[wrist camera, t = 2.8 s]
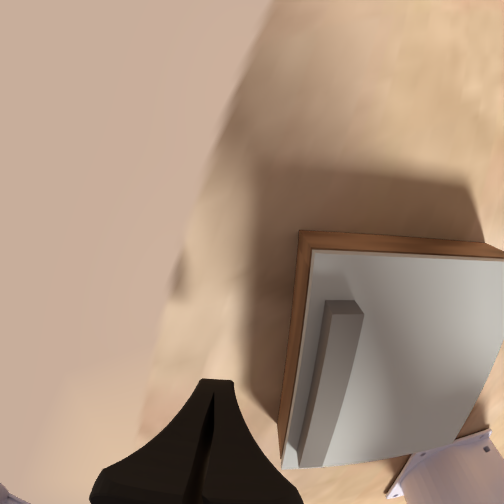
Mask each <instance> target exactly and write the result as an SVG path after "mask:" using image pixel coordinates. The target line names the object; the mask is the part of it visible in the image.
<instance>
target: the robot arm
mask: <svg viewBox="0 0 504 504" xmlns="http://www.w3.org/2000/svg"><path fill="white" fill-rule="evenodd" d="M491 433H492V430H491V429H487V430H484V431H481V432H478V433H475V434H472V435H469V436H466V437H462V438H459V439H456V440H454V441H453V443H452V444H448V445H445V446H441V447H437V448H433V449H430V450H426V451H421V452H417V453H413V454H412V455H411V457H410V458H409V460H408V462H407V463H406V465H405V467H404V468H403V470H402V471H401V473H400V475H399V476H398V478H397V479H396V481H395V482H394V484H393V485H392V487H391V488H390V490H389V491H388V493H387V494H386V499H391V498H395V497H399V496H404V497H405V500H406V502H407V504H504V459H503V458H502V456H501V455H500V453H499V452H498V450H497V449H496V447H495V446H494V444H493V443H492V441H491V440H490V438H489V436H490V435H491ZM89 500H90V502H91V504H304V503H303V500H302V498H301V496H300V494H299V492H298V490H297V488H296V487H295V486H294V485H292V484H291V483H290V482H289V481H288V480H287V479H286V478H285V477H284V476H283V475H282V474H281V473H280V472H279V471H278V470H277V469H276V468H275V467H274V466H273V464H272V463H271V462H270V461H269V460H268V458H267V457H266V456H265V455H264V453H263V452H262V450H261V449H260V448H259V446H258V445H257V443H256V441H255V440H254V438H253V436H252V435H251V433H250V431H249V429H248V427H247V425H246V423H245V421H244V419H243V416H242V414H241V411H240V409H239V406H238V403H237V399H236V396H235V391H234V382H233V381H232V380H218V379H203V378H202V379H201V380H200V381H199V383H198V385H197V387H196V388H195V390H194V392H193V393H192V395H191V396H190V398H189V399H188V401H187V402H186V403H185V405H184V406H183V407H182V409H181V410H180V411H179V413H178V414H177V415H176V416H175V417H174V418H173V420H172V421H171V422H170V423H169V424H168V425H167V426H166V427H165V428H164V429H163V430H162V431H161V432H160V433H159V434H158V435H157V436H156V437H154V438H153V439H152V440H151V441H149V442H148V443H147V444H146V445H144V446H143V447H142V448H140V449H139V450H137V451H136V452H134V453H133V454H131V455H130V456H128V457H126V458H125V459H123V460H121V461H119V462H117V463H115V464H113V465H111V466H109V467H107V468H105V469H103V470H102V471H101V473H100V474H99V476H98V478H97V479H96V481H95V484H94V486H93V488H92V492H91V494H90V497H89ZM0 504H30V503H28V502H26V501H24V500H22V499H20V498H18V497H16V496H14V495H12V494H10V493H9V492H8V490H7V489H6V488H5V487H4V486H3V485H2V484H1V483H0Z"/></svg>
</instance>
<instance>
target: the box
mask: <svg viewBox="0 0 504 504" xmlns="http://www.w3.org/2000/svg"><path fill="white" fill-rule="evenodd" d="M312 249H313V250H335V251H357V252H378V253H399V254H419V255H439V256H459V257H478V258H497V259H504V251H502V250H500V249H497V248H495V247H493V246H491V245H489V244H487V243H479V242H467V241H455V240H443V239H430V238H417V237H403V236H388V235H373V234H358V233H341V232H324V231H306V230H299V239H298V251H297V262H296V273H295V283H294V293H293V303H292V312H291V321H290V330H289V339H288V347H287V356H286V364H285V372H284V379H283V387H282V394H281V402H280V409H279V416H278V423H277V428H278V438H279V449H280V459H282V455H283V450H284V444H285V439H286V434H287V428H288V423H289V417H290V411H291V405H292V399H293V393H294V387H295V381H296V375H297V368H298V361H299V355H300V348H301V340H302V333H303V326H304V318H305V310H306V302H307V294H308V285H309V276H310V267H311V258H312Z"/></svg>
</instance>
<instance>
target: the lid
mask: <svg viewBox="0 0 504 504" xmlns="http://www.w3.org/2000/svg"><path fill="white" fill-rule="evenodd" d="M503 340H504V259H497V258H478V257H459V256H439V255H419V254H399V253H378V252H357V251H335V250H313V249H312V258H311V267H310V276H309V285H308V294H307V302H306V310H305V318H304V326H303V333H302V340H301V348H300V355H299V361H298V368H297V375H296V381H295V387H294V393H293V399H292V405H291V411H290V417H289V423H288V428H287V434H286V439H285V444H284V450H283V455H282V460H281V469H305V468H320V467H331V466H341V465H349V464H357V463H364V462H371V461H377V460H383V459H388V458H394V457H399V456H404V455H408V454H413V453H417V452H421V451H426V450H430V449H433V448H437V447H441V446H445V445H448V444H452V443H453V441H454V440H455V438H456V437H457V435H458V433H459V432H460V430H461V428H462V426H463V425H464V423H465V421H466V419H467V418H468V416H469V414H470V412H471V410H472V408H473V406H474V405H475V403H476V401H477V399H478V397H479V395H480V393H481V391H482V389H483V387H484V384H485V382H486V380H487V378H488V376H489V374H490V371H491V369H492V367H493V365H494V362H495V360H496V357H497V355H498V353H499V350H500V348H501V345H502V342H503Z"/></svg>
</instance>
